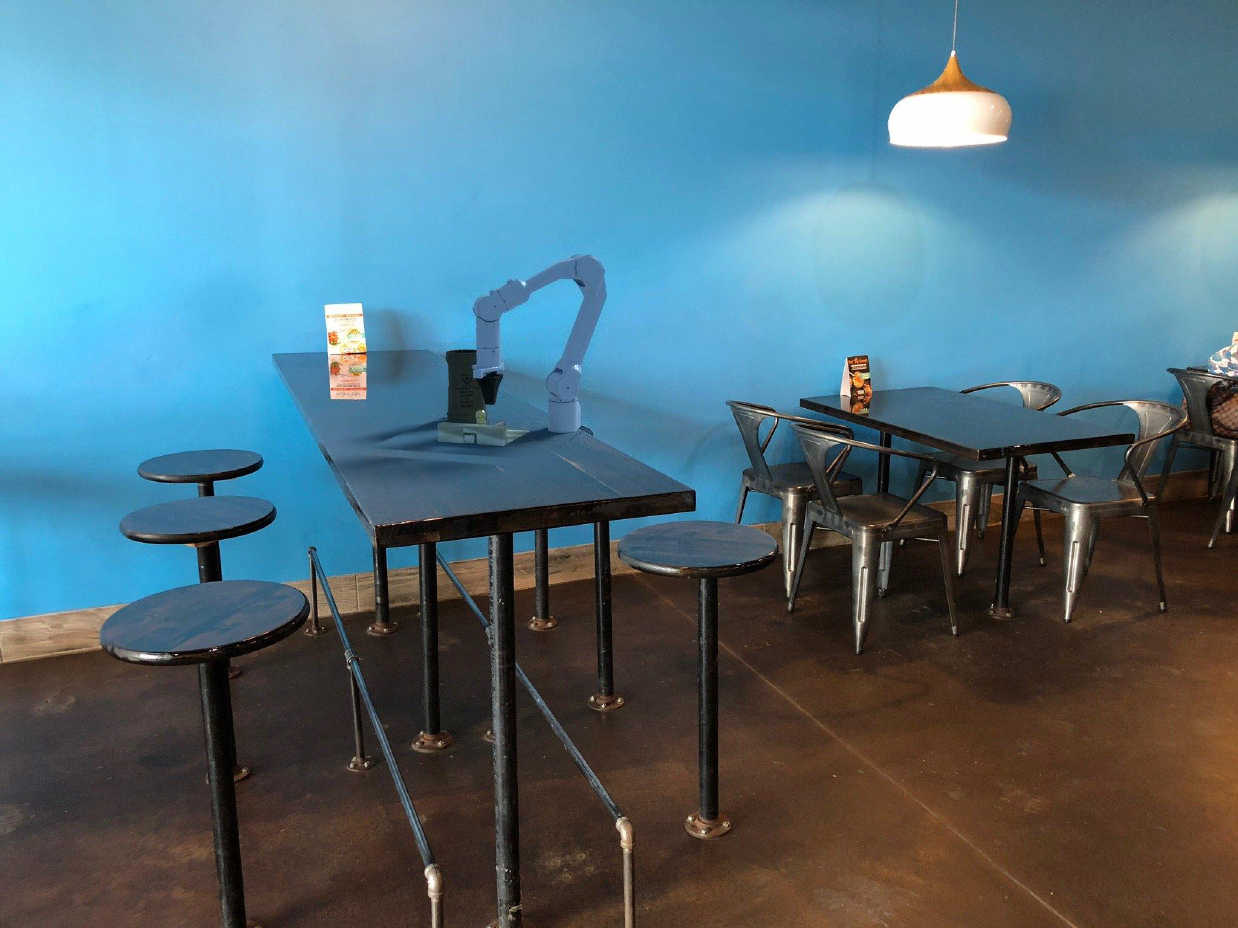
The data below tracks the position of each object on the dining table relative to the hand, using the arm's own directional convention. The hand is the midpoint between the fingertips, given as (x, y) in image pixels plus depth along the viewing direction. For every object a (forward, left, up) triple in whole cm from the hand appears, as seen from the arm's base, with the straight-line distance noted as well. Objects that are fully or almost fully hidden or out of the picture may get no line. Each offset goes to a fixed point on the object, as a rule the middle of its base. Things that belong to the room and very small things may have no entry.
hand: (490, 404), depth 226 cm
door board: (+3, 0, -9) cm, 9 cm away
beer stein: (-15, -13, -9) cm, 22 cm away
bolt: (+9, 0, -7) cm, 11 cm away
